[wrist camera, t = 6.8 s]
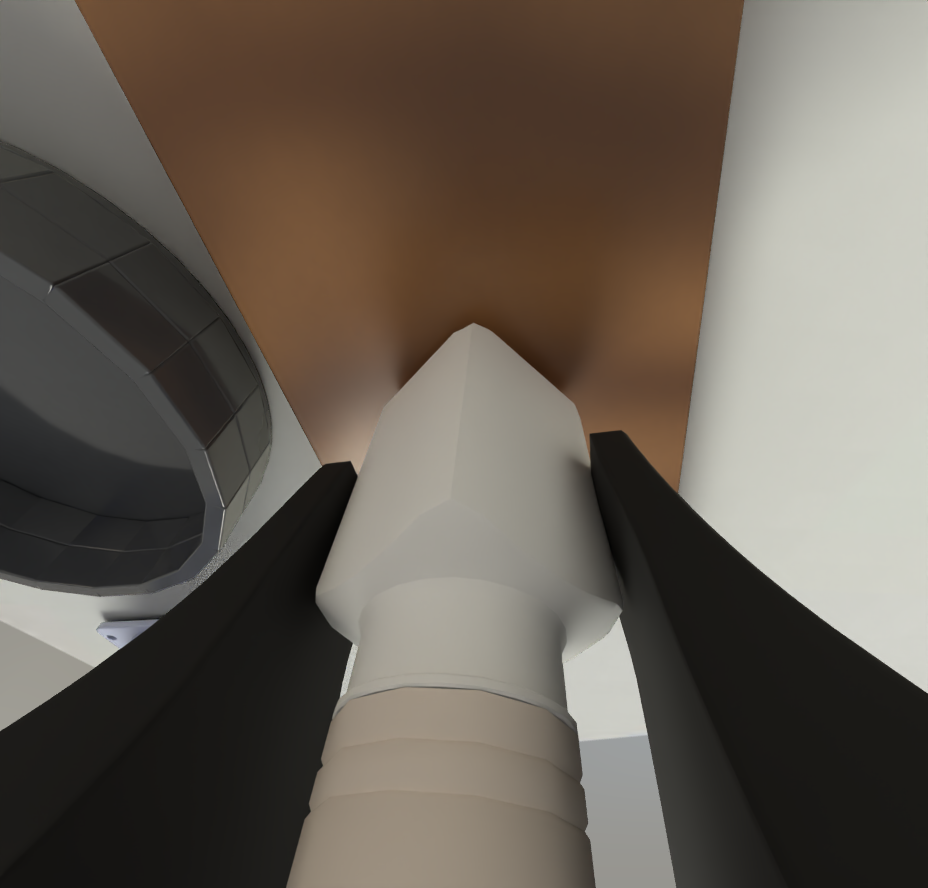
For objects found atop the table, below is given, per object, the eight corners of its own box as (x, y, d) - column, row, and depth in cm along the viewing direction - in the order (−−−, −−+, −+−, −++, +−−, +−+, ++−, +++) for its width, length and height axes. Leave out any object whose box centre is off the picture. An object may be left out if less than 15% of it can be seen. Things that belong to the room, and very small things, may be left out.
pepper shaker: (586, 404, 12) (733, 963, 4) (482, 482, 14) (459, 952, 6) (473, 303, 10) (391, 895, 3) (376, 408, 12) (177, 909, 5)
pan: (334, 507, 18) (304, 584, 15) (46, 535, 20) (-25, 605, 17) (72, 32, 9) (-113, 10, 6) (-373, 184, 12) (-643, 214, 9)
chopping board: (654, 562, 18) (665, 594, 17) (403, 578, 20) (396, 607, 19) (742, -295, 6) (798, -383, 5) (98, -53, 8) (31, -77, 7)
